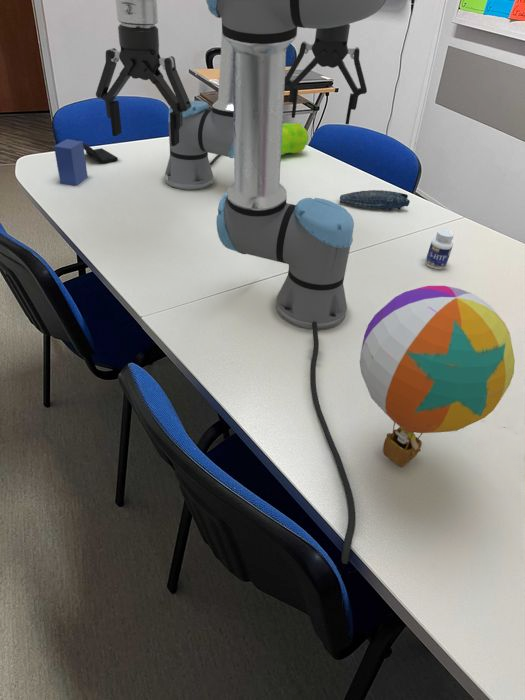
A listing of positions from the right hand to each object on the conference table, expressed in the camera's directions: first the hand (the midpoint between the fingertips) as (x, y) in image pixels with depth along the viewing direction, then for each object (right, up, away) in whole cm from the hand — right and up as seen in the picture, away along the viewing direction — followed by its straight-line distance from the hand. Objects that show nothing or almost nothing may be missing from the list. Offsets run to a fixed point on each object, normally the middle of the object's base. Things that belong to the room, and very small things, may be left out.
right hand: (320, 119), depth 130 cm
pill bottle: (+30, -36, +3) cm, 47 cm away
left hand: (-40, -12, -18) cm, 45 cm away
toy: (+7, -75, -48) cm, 89 cm away
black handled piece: (-70, +7, +44) cm, 83 cm away
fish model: (+19, -14, +30) cm, 38 cm away
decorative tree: (-13, +15, +61) cm, 64 cm away
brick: (-72, -6, +28) cm, 78 cm away
